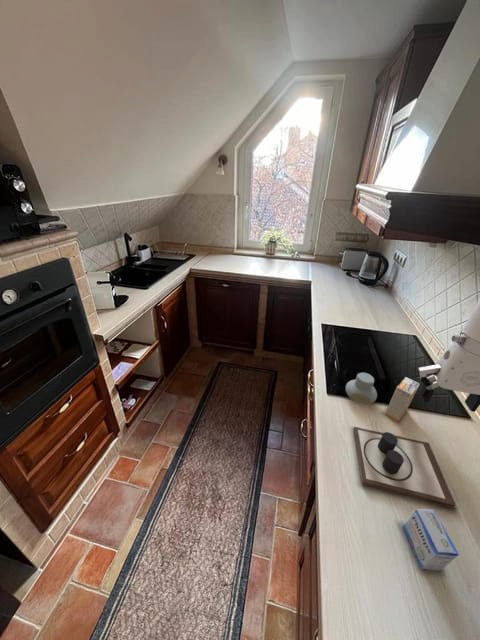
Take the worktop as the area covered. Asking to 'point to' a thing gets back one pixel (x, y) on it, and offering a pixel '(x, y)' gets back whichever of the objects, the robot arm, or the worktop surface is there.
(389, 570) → the worktop surface
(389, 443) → the cylinder
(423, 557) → the medicine box
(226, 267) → the worktop surface
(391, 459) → the cylinder
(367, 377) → the air freshener
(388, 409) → the supplement box
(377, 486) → the sketch board
